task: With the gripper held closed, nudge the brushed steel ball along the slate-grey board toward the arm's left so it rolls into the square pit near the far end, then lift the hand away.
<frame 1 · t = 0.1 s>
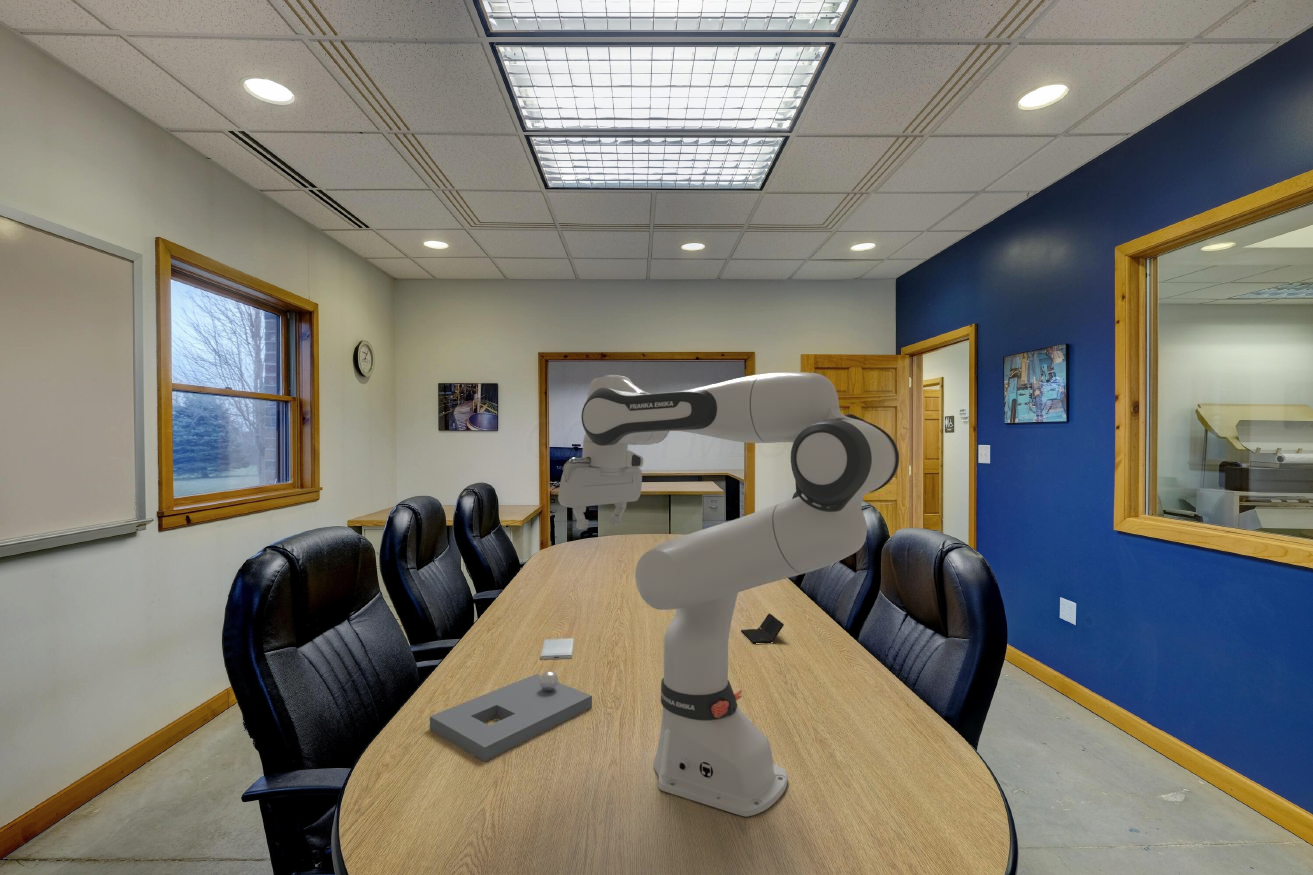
hand: (599, 526, 110), 39 cm above the table, tool pointing down, fingers open, 8 cm apart
steel ball: (548, 680, 119), point 4 cm above the table, touching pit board
hard drive: (557, 653, 149), on the table
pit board: (514, 718, 111), on the table
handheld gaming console: (761, 638, 160), on the table
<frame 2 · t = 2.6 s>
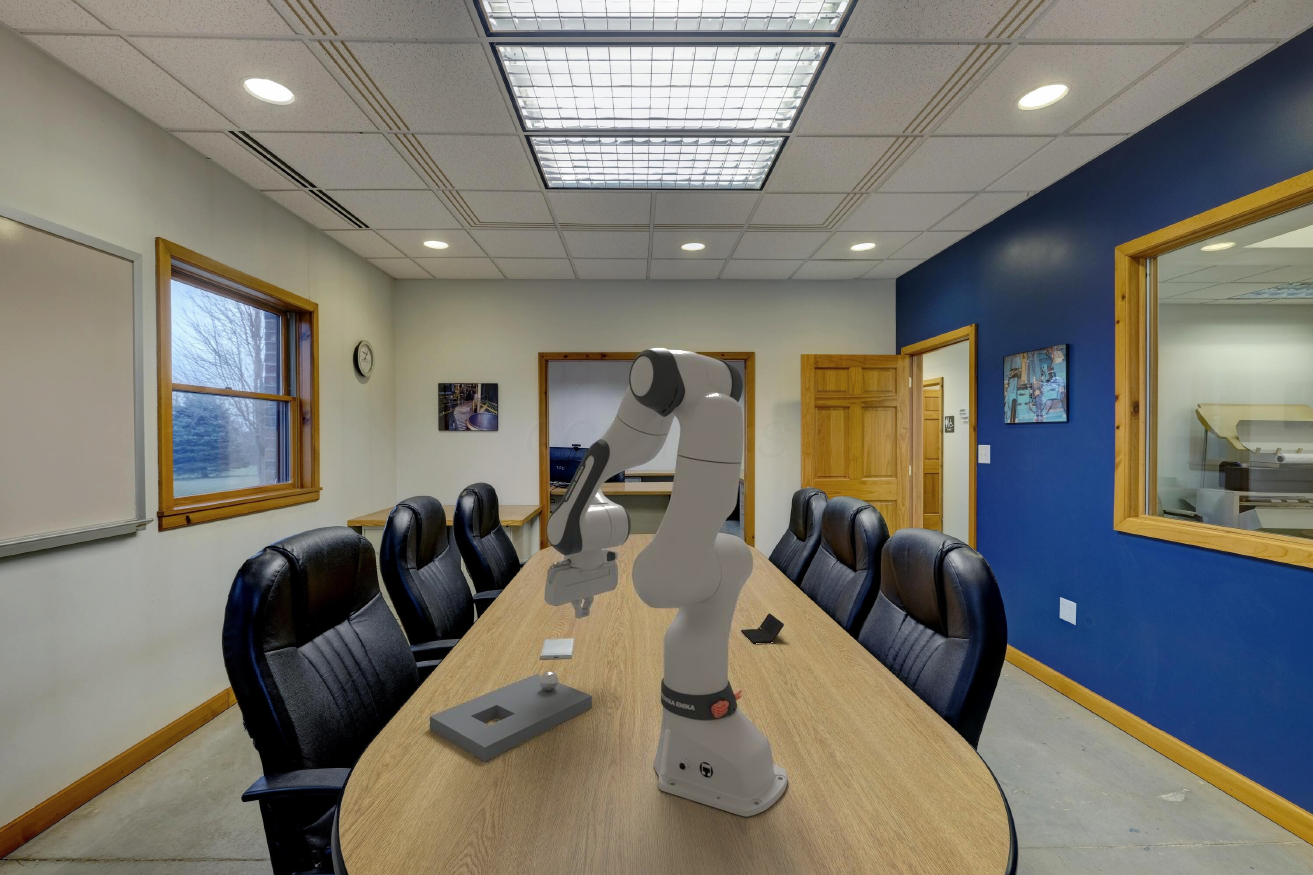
hand: (582, 616, 127), 16 cm above the table, tool pointing down, fingers closed
nothing on the table moved.
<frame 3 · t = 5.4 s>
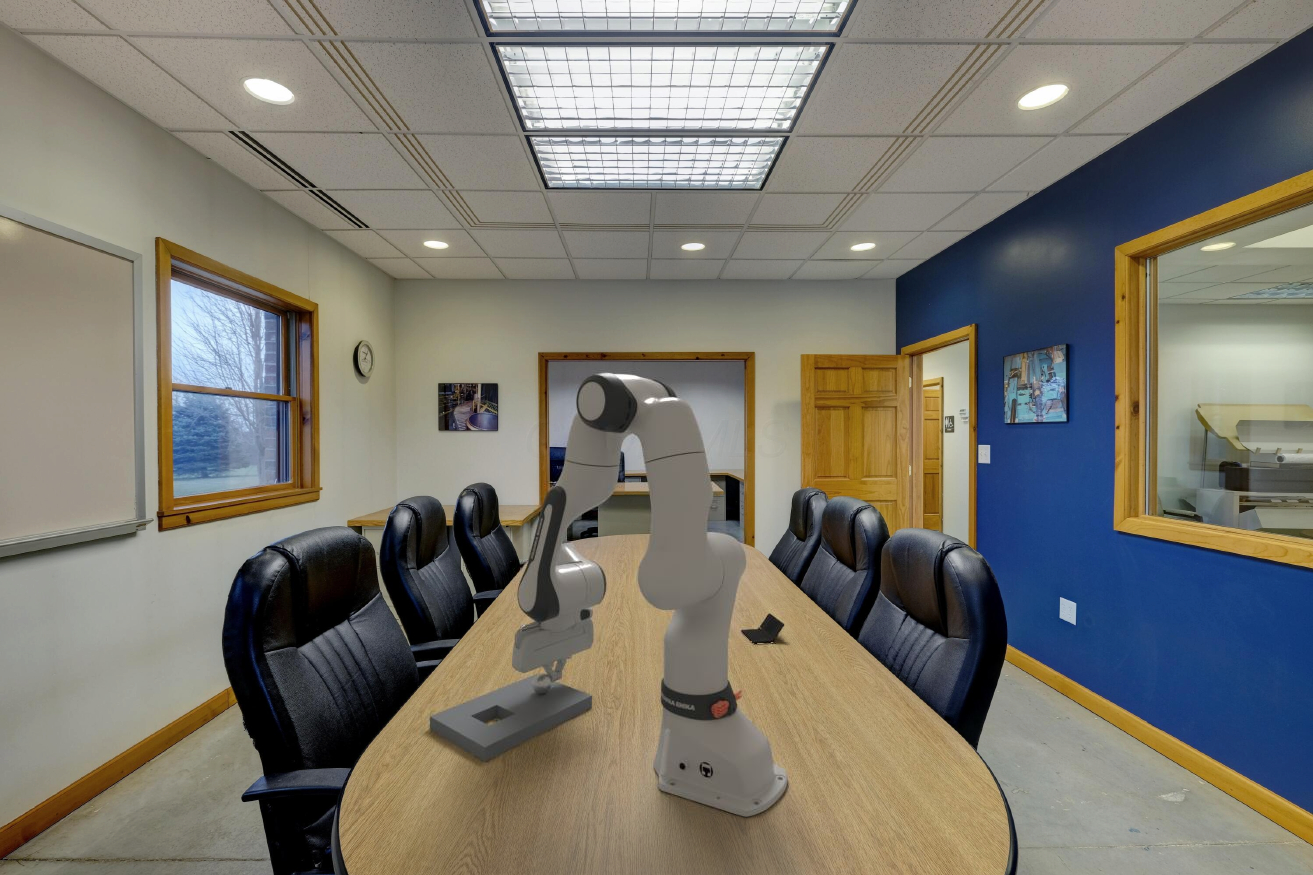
hand: (554, 680, 120), 4 cm above the table, tool pointing down, fingers closed
steel ball: (541, 683, 117), point 4 cm above the table, tilted 53°, touching gripper, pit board
everything else where it was.
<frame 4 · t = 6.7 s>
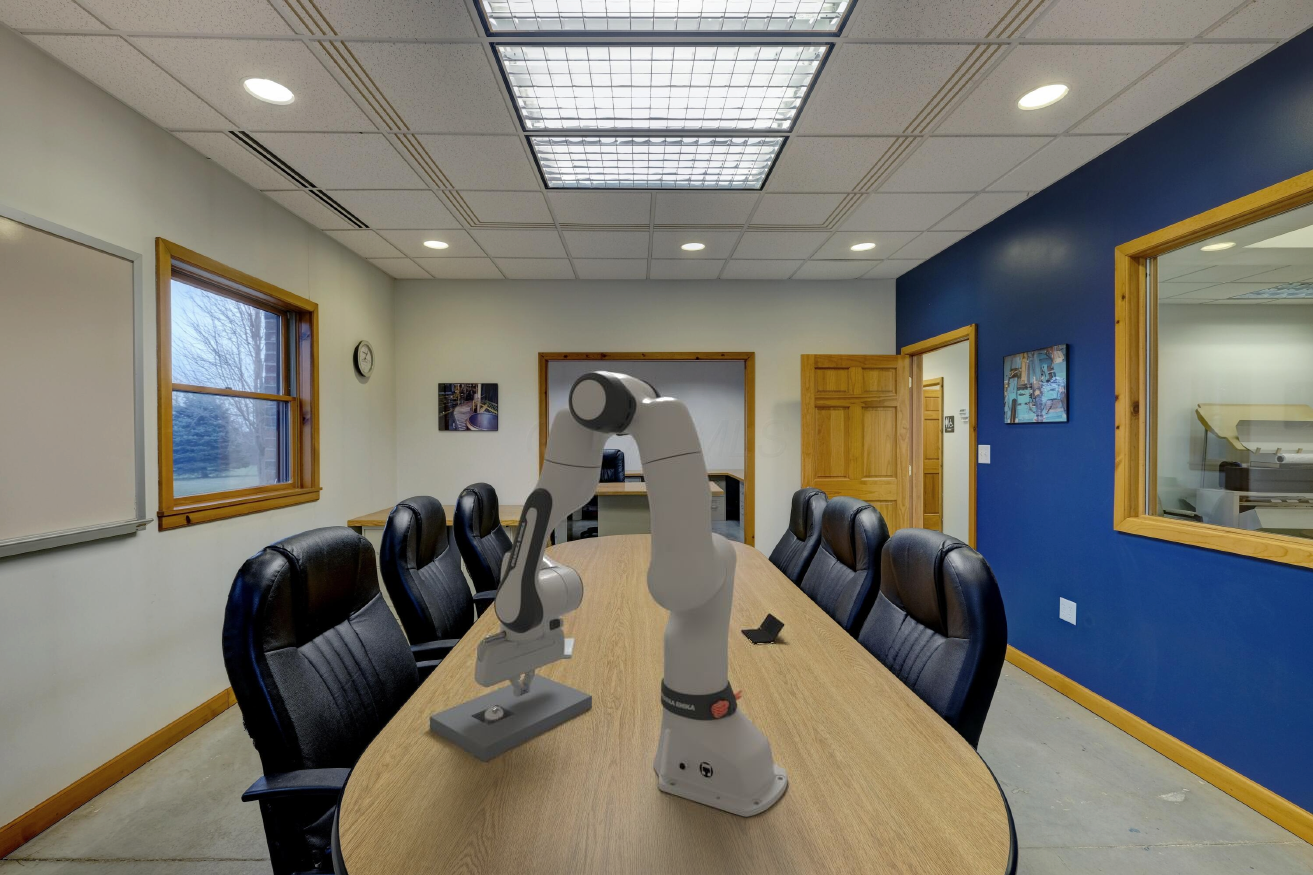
hand: (521, 693, 113), 4 cm above the table, tool pointing down, fingers closed
steel ball: (494, 717, 108), point 2 cm above the table, tilted 51°
everything else where it was.
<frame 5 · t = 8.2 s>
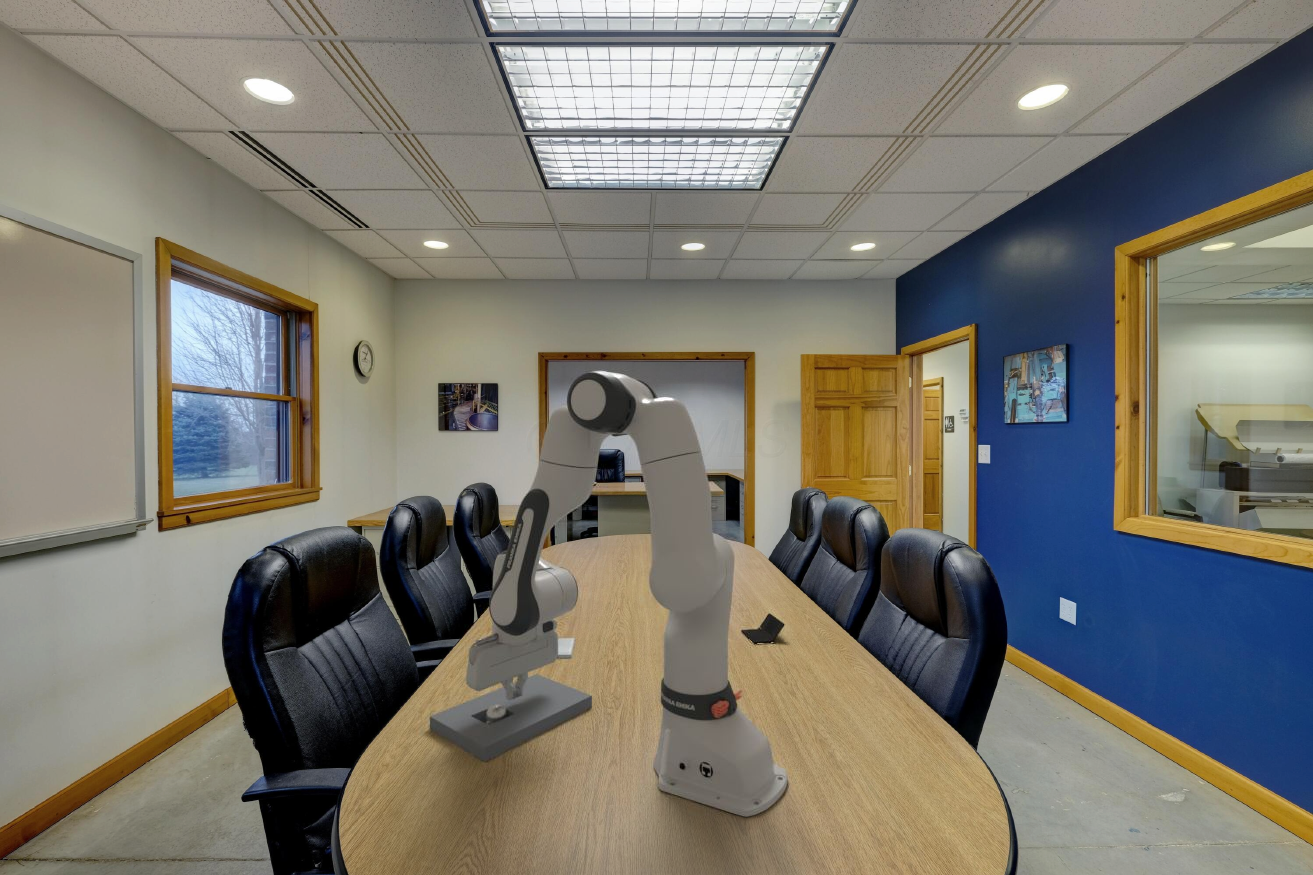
hand: (514, 697, 112), 4 cm above the table, tool pointing down, fingers closed
steel ball: (496, 715, 108), point 2 cm above the table, tilted 45°
everything else where it was.
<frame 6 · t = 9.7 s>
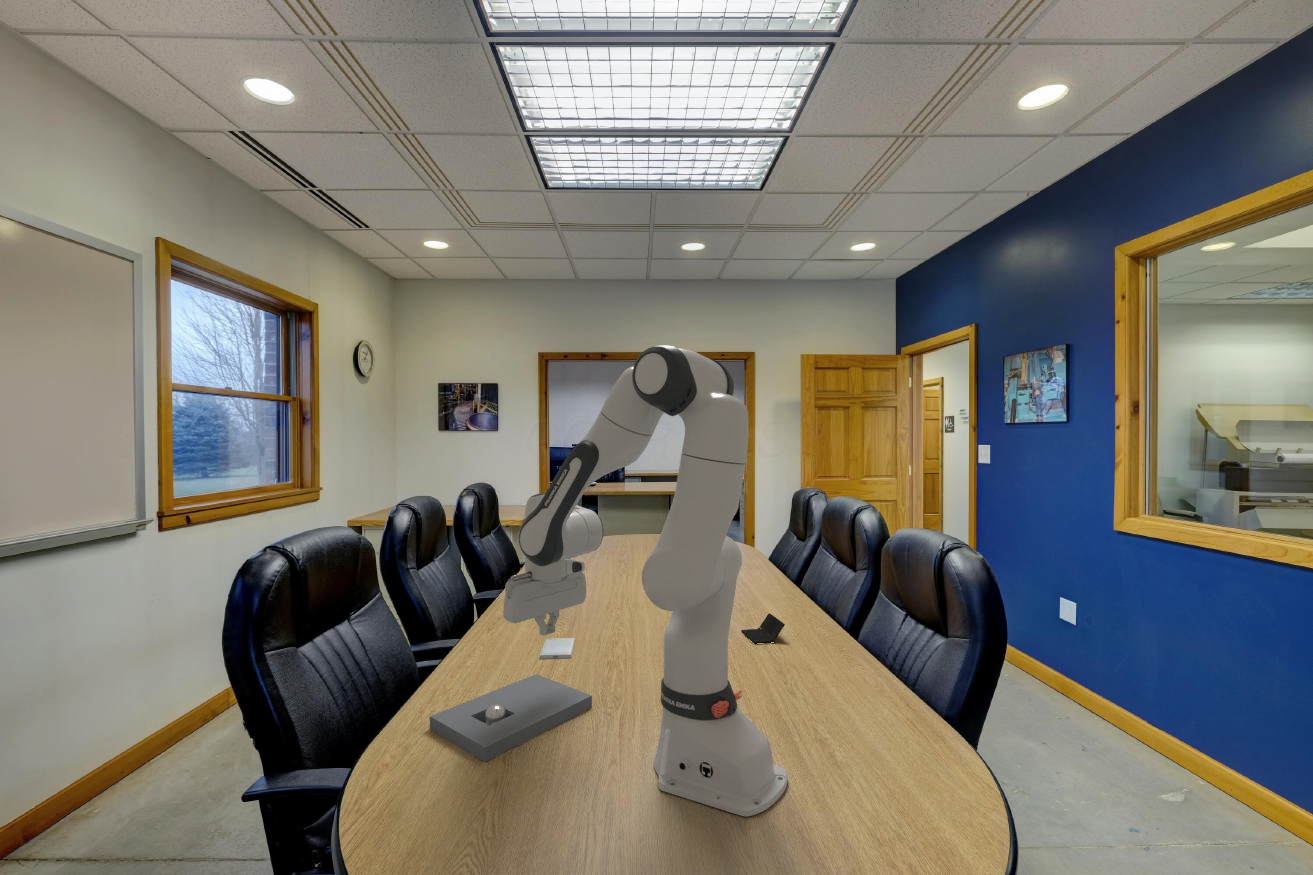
hand: (547, 633, 118), 15 cm above the table, tool pointing down, fingers closed
steel ball: (495, 715, 108), point 2 cm above the table, tilted 51°
everything else where it was.
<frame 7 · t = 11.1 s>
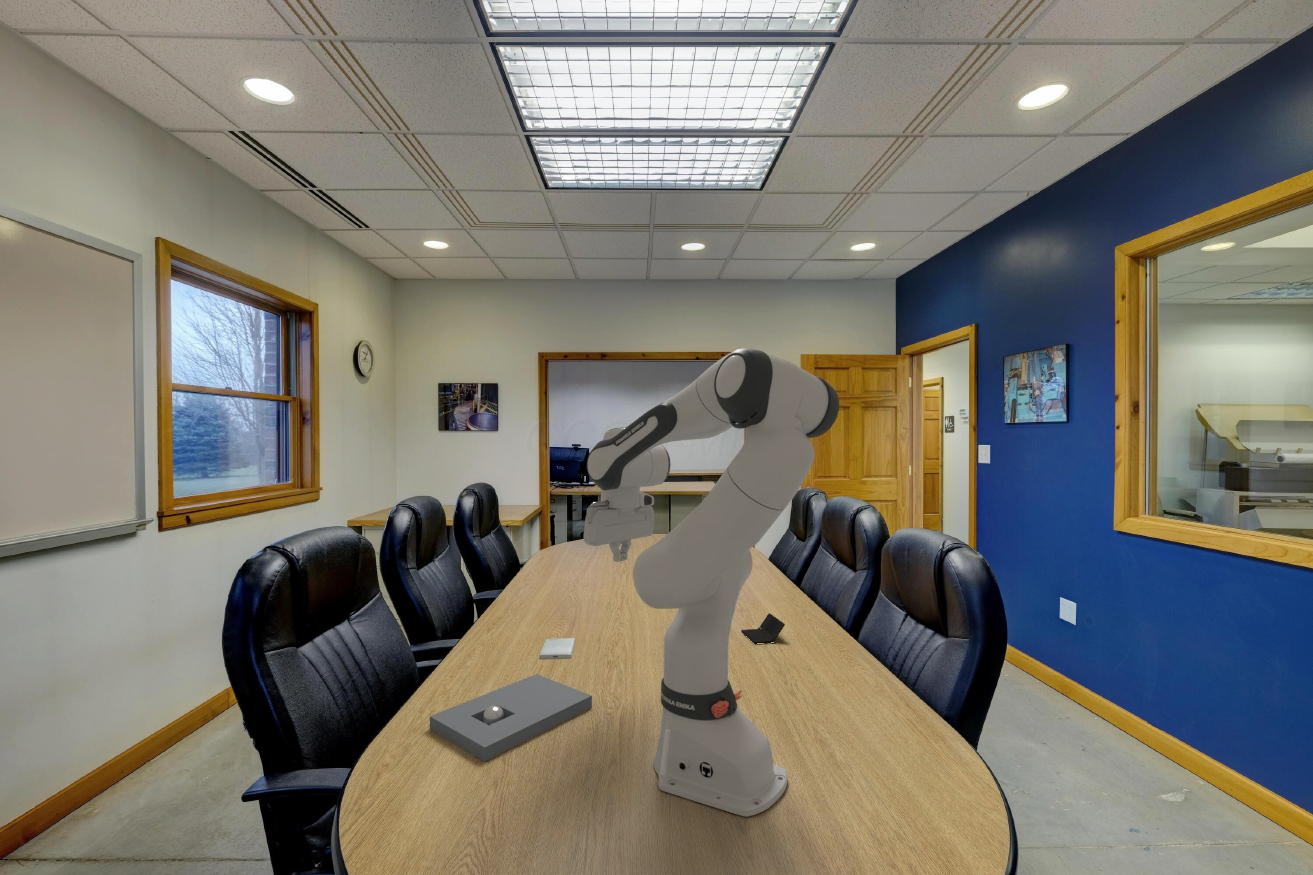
hand: (620, 560, 125), 29 cm above the table, tool pointing down, fingers closed
steel ball: (493, 716, 108), point 2 cm above the table, tilted 63°
everything else where it was.
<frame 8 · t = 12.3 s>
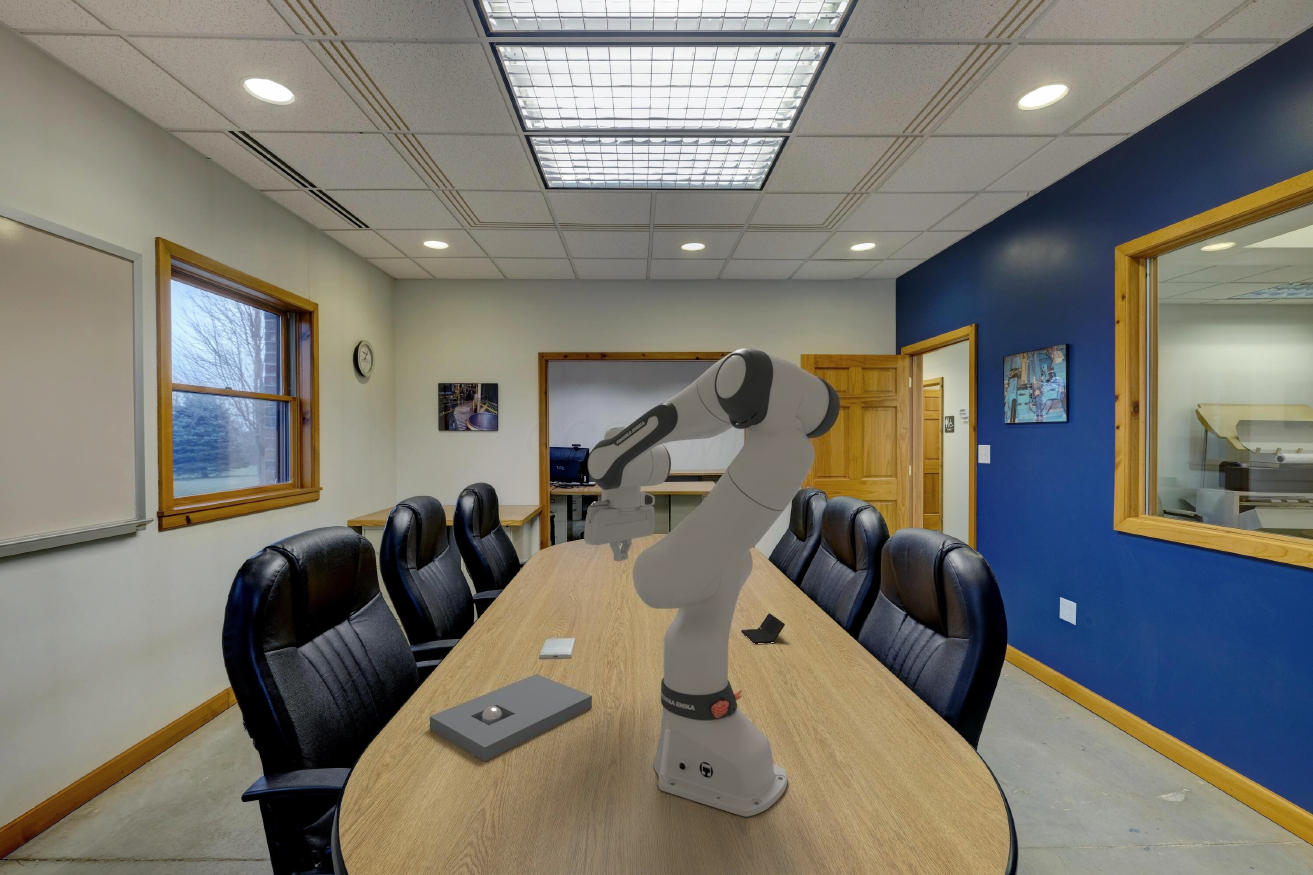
hand: (620, 560, 125), 29 cm above the table, tool pointing down, fingers closed
steel ball: (491, 717, 108), point 2 cm above the table, tilted 73°
everything else where it was.
at the end: steel ball 0.3 cm from the target spot on the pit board, point 2.0 cm above the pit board's base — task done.
